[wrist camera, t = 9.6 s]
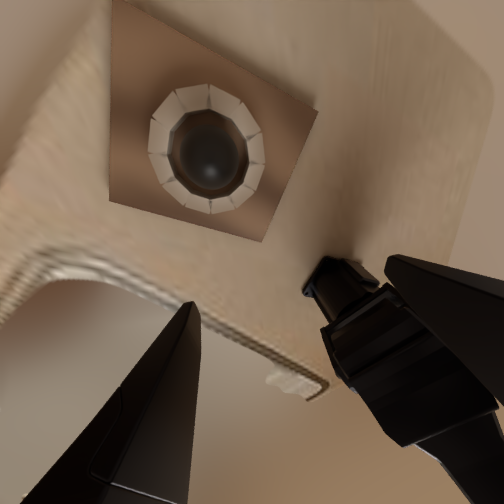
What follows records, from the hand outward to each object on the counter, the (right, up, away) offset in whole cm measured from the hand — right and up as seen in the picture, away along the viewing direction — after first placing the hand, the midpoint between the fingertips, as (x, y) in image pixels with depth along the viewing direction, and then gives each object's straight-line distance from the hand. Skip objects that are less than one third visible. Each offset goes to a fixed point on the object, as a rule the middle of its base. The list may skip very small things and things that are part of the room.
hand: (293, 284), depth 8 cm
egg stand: (-5, +10, +7) cm, 13 cm away
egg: (-5, +9, +7) cm, 13 cm away
